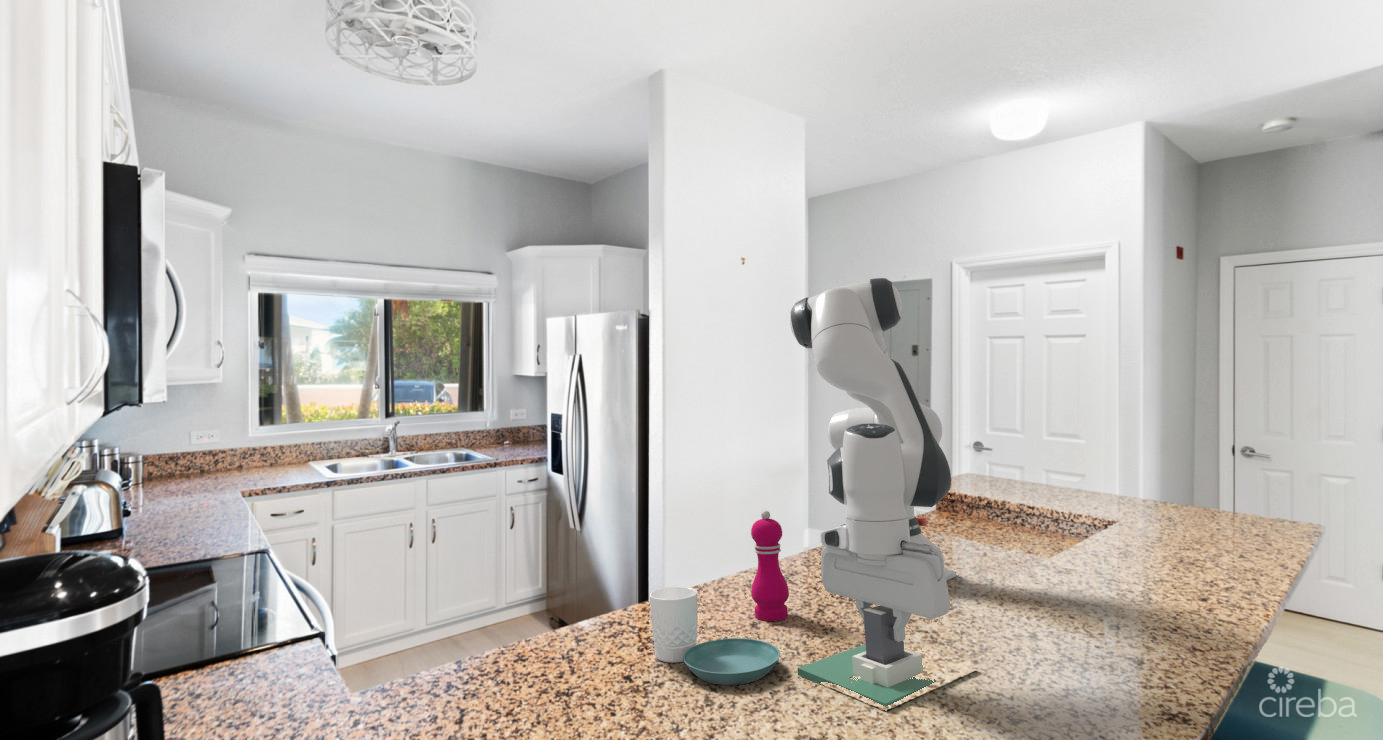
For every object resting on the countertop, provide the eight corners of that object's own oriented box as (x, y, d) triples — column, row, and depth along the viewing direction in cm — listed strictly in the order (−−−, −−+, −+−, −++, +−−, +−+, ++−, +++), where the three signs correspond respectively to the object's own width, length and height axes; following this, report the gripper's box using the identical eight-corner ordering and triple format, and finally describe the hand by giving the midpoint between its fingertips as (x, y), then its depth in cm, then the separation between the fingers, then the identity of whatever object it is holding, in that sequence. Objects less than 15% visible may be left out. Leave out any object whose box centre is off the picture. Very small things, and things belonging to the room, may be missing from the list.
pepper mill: (789, 622, 121) (782, 512, 122) (750, 622, 122) (744, 513, 124) (791, 610, 128) (785, 507, 129) (754, 610, 129) (748, 508, 131)
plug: (887, 653, 95) (884, 603, 96) (904, 659, 93) (901, 607, 93) (866, 661, 93) (863, 609, 93) (883, 667, 90) (880, 614, 91)
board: (886, 643, 108) (885, 621, 108) (976, 671, 94) (974, 646, 95) (797, 674, 96) (796, 650, 96) (885, 711, 83) (883, 683, 83)
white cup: (683, 667, 101) (680, 601, 102) (642, 660, 105) (639, 596, 106) (709, 651, 108) (706, 589, 109) (669, 644, 112) (667, 585, 113)
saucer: (742, 647, 109) (741, 631, 110) (801, 674, 97) (800, 656, 97) (666, 669, 102) (665, 651, 102) (719, 701, 89) (718, 681, 89)
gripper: (955, 543, 87) (963, 649, 86) (840, 526, 104) (846, 615, 103) (926, 550, 84) (934, 661, 83) (812, 532, 101) (817, 624, 99)
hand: (884, 636), depth 93 cm, fingers closed on plug, 3 cm apart
